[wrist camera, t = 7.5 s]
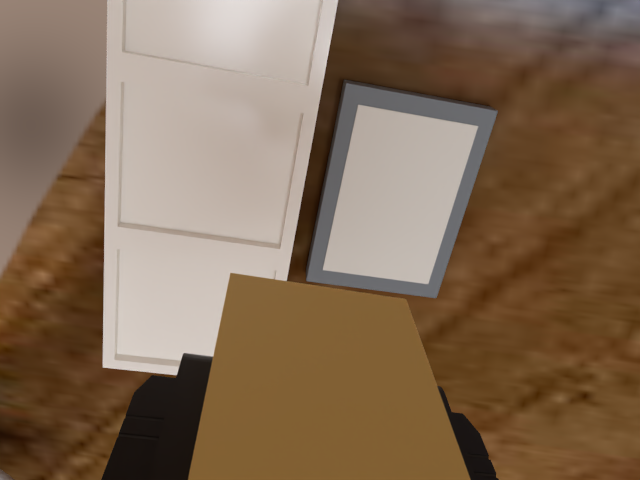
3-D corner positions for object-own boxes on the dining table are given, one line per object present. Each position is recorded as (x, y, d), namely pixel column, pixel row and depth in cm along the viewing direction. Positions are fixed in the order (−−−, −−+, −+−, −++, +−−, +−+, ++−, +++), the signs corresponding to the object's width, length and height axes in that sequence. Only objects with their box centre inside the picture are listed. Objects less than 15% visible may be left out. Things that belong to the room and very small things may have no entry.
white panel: (110, 227, 26) (104, 236, 25) (289, 252, 27) (290, 261, 26) (108, 355, 29) (102, 367, 29) (268, 372, 31) (267, 384, 30)
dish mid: (113, 61, 23) (106, 64, 22) (318, 97, 24) (319, 102, 23) (110, 227, 26) (104, 236, 25) (289, 252, 27) (290, 261, 26)
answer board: (344, 79, 24) (346, 83, 23) (489, 106, 25) (498, 111, 24) (305, 271, 28) (306, 281, 27) (431, 288, 29) (436, 298, 28)
